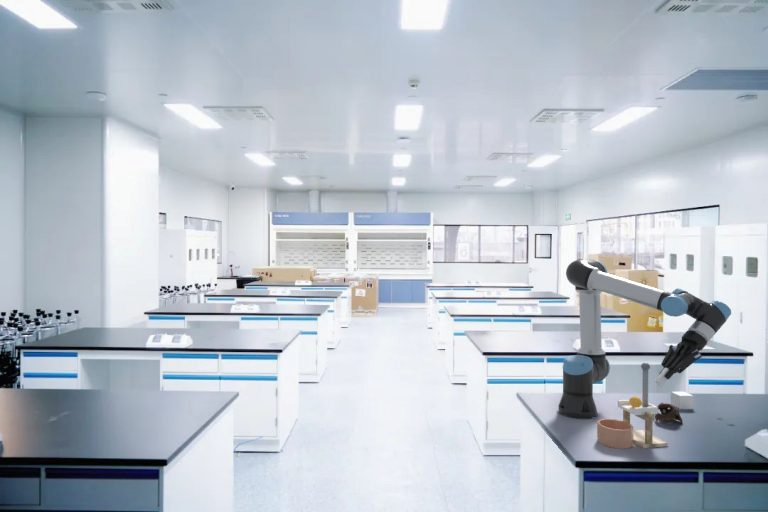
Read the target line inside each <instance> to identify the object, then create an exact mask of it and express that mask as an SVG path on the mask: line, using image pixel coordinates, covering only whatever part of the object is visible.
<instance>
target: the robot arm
mask: <svg viewBox="0 0 768 512" xmlns="http://www.w3.org/2000/svg"><path fill="white" fill-rule="evenodd" d="M565 275H566V279H567V280H568V282H569V283H570V285H573V286H575V287H574V288H575V291H576V292H577V293H578V300H579V301H578V302H579V334H580V337H579V339H580V343H579V344H580V347H579V348H578V349H577V350H576V354H574V355H568V356H566V357H565V358H564V359H563V362H562V363H563V364H562V395H561V398H560V400H559V404H558V412H559V414H560V415H563V416H565V417H568V418H572V419H580V420H588V419H594V418H597V416H598V408H597V405H596V403H595V399H594V397H593V394H594V392H593V389H594V387H593V385H594V384H596V383H600V382H601V381H603V380H604V379H606V378H607V376H609V373H610V370H611V367H610V366H611V365H610V362H609V360H608V359H607V357H606V351H605V350H604V349H603V347H602V321H601V320H602V314H601V313H602V312H601V293H606V294H608V295H611V296H615V297H618V298H620V299H621V298H622V299H624V300H627V301H629V302H633V303H636V304H639V305H643V306H645V307H648V308H651V309H655V310H658V311H660V312H663V313H664V314H665V315H667V316H670V317H681V316H683V315H687V316H689V317H691V318H693V319H694V322H693V323H692V324H691V325H690V327H689V328H688V329H687V330H686V331H685V332H684V334H682V336H681V341H680V342H678V343H677V344H676V345H672V344H669V346H668V347H669V348H668V351H667V352H666V354H665V356H664V358H663V359H662V361H661V364H660V365H661V366H662V367H663V368H662V369H661V371H660V372H659V373H658V375H657V376H656V378H655V379H654V382H655V383H656V385H658V386H659V387H663V386H664V385H665V383H666V382H667V381H668V380H670V379H671V378H672V377H673V375H674V374H676V373H678V374H681V373H683V372H684V371H685V370H686V369H688V368H689V367H690V366H691V365H693V363H695V362H696V361H697V360H699V359H701V358H702V357H703V356H702V354H701V353H700V351H702V350H704V348H705V347H706V346H707V345H708V342H710V341H711V339H713V337H714V336H715V335H716V333H718V332H719V330H720V329H721V328H722V327H723V325H725V323H726V322H727V320H728V319H729V317H730V316H731V315H732V310H731V308H730V307H729V305H727V304H726V303H725V302H722V301H718V300H712V301H710V302H707V301H705V300H703V299H701V298H699V297H697V296H695V295H694V294H692V293H689V292H688V291H686V290H683V289H682V288H679V287H678V288H675V289H673V291H672V292H668V291H666V290H662V289H659V288H656V287H652V286H650V285H645V284H642V283H639V282H636V281H632V280H629V279H626V278H623V277H619V276H616V275H613V274H610V273H608V269H607V268H606V266H605V264H603V262H601V261H600V260H595V259H576V260H573V261H572V262H570V263H569V264H568V266H567V268H566V271H565Z"/></svg>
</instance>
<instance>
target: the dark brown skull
mask: <svg viewBox="0 0 768 512" xmlns="http://www.w3.org/2000/svg"><path fill="white" fill-rule="evenodd" d="M657 407H658V411H659V412H658V414H655V422H656V423H658V421H659V422H660V421H661V422H667V421H671V420H674V421H679V422H680V423H681V424H682V425H683V418H682V417H681V414H680V409H678V408H676V407H674V406H673V405H671V403H664V402H661V403H658V405H657Z"/></svg>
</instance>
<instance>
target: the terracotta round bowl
mask: <svg viewBox="0 0 768 512" xmlns="http://www.w3.org/2000/svg"><path fill="white" fill-rule="evenodd" d="M596 424H597V425H596V427H597V429H596V430H597V432H596V434H597V435H596V438H597V442H598V443H599V444H601V445H602V446H605V447H606V448H607V447H608V448H612V449H616V450H617V449H619V450H627V449H631V448H633V446H634V443H633V431H634V426H633V425H632V424H631V423H630V424H629V423H627V422H624V421H623V420H622V419H621V420H620V419H616V418H614V419H613V418H603V419H599V420H598V421H597V422H596Z"/></svg>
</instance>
